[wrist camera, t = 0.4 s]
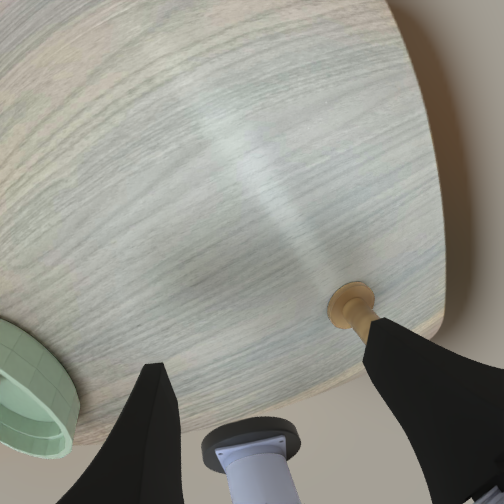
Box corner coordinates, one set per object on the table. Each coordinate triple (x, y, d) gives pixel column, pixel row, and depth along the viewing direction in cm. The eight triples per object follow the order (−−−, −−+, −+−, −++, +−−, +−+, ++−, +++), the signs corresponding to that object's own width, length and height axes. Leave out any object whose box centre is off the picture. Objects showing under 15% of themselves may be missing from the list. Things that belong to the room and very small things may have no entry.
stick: (368, 317, 21) (453, 420, 11) (326, 329, 21) (403, 449, 11) (372, 276, 20) (478, 378, 10) (327, 288, 19) (426, 412, 9)
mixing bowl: (106, 423, 21) (101, 463, 17) (7, 418, 19) (-3, 449, 15) (33, 302, 15) (5, 344, 11) (-61, 316, 13) (-85, 346, 9)
